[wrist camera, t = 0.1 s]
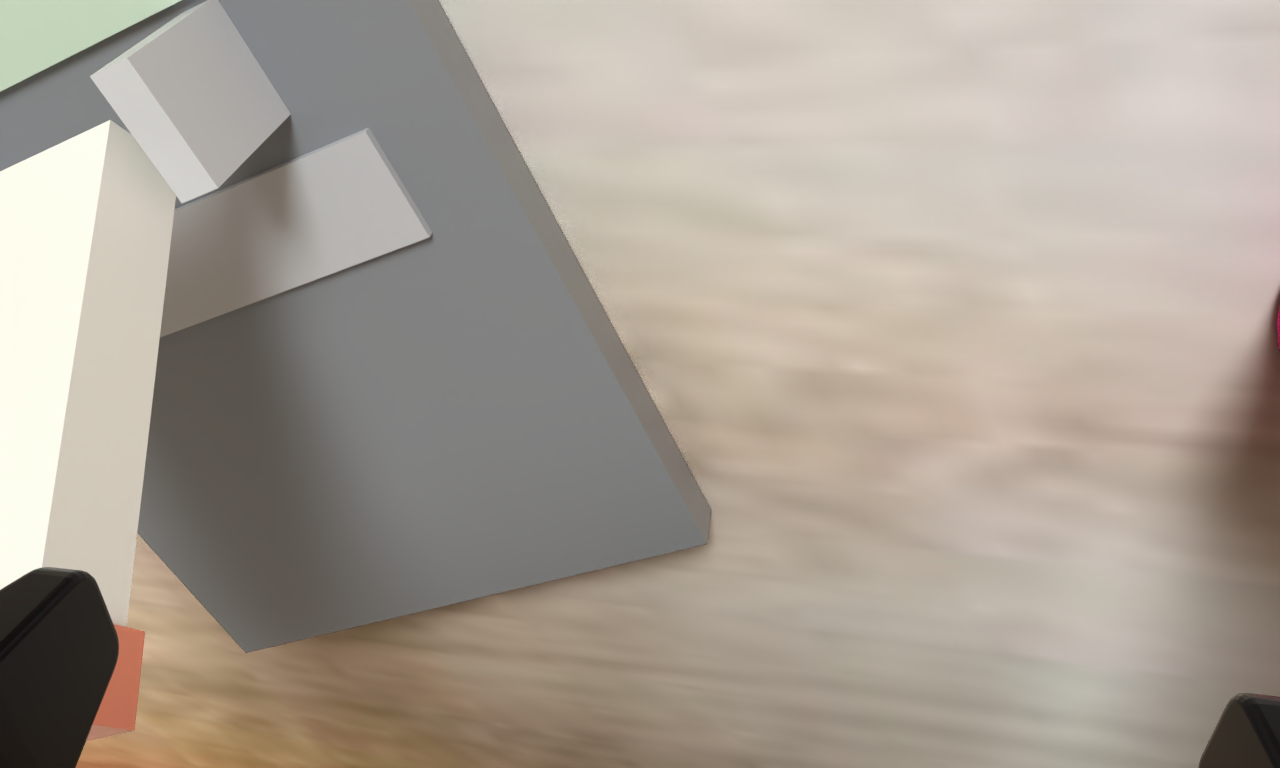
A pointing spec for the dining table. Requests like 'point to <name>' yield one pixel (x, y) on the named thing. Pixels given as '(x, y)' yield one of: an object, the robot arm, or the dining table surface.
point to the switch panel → (352, 315)
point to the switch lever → (81, 370)
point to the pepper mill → (1278, 328)
